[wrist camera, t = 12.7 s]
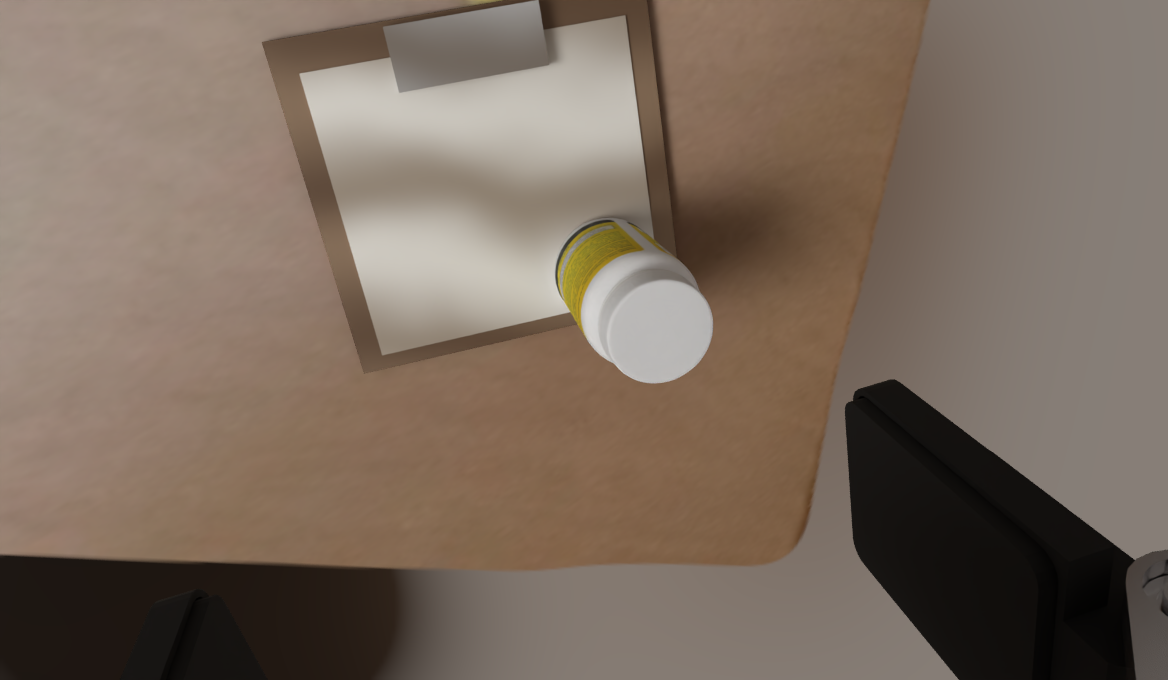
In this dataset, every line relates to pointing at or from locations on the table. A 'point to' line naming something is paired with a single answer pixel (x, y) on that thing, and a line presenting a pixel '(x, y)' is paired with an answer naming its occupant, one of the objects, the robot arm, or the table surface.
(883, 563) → the robot arm
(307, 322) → the table surface
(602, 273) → the supplement bottle
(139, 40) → the table surface
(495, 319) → the clipboard
